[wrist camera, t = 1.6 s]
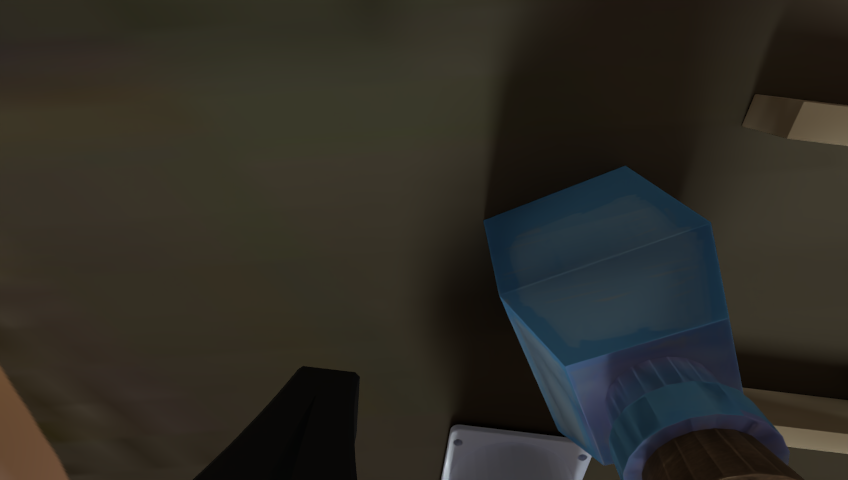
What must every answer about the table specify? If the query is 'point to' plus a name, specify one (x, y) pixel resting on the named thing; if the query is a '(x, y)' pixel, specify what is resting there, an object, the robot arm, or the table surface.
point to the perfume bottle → (632, 332)
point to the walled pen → (791, 413)
